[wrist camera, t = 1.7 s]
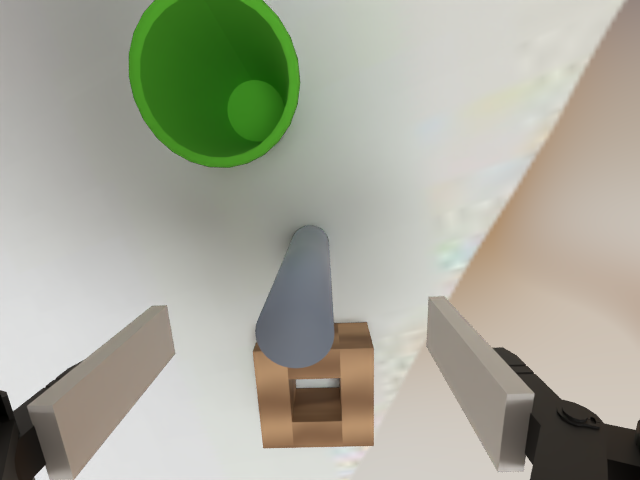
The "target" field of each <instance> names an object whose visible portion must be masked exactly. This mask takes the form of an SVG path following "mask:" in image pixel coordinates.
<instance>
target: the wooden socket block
mask: <svg viewBox="0 0 640 480" xmlns="http://www.w3.org/2000/svg"><path fill="white" fill-rule="evenodd" d="M253 358H254V367H255V376H256V385H257V395H258V404H259V413H260V422H261V431H262V440H263V448H296V447H343V446H374V347H373V344H372V340H371V336H370V332H369V329H368V325H367V322H363V323H334V341H333V344H332V347H331V349H330V351H329V352H328V354H327V355H326V356H325V357H324V358H323V359H322V360H320V361H319V362H317V363H315V364H313V365H311V366H308V367H304V368H288V367H284V366H281V365H278V364H276V363H274V362H273V361H271V360H270V359H269V358H267V357H266V356H265V355H264V353H263V352H262V351H261V349H260V347H259V345H258V343H257V342H256V345H255V347H254V350H253ZM323 378H339V381H340V387H337V388H299V389H296V381H295V379H323Z"/></svg>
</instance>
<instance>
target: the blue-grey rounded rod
mask: <svg viewBox="0 0 640 480" xmlns="http://www.w3.org/2000/svg"><path fill="white" fill-rule="evenodd" d="M255 332H256V340H257V343H258V345H259V347H260V349H261V351H262V352H263V353H264V355H265V356H266V357H267V358H269V359H270V360H271V361H273V362H274V363H276V364H278V365H281V366H284V367H288V368H304V367H308V366H311V365H313V364H315V363H317V362H319V361H320V360H322V359H323V358H324V357H325V356H326V355H327V354H328V352H329V351H330V349H331V347H332V344H333V341H334V319H333V302H332V285H331V268H330V252H329V240H328V237H327V235H326V233H325V232H324V231H323V230H322V229H320V228H319V227H316V226H304V227H302V228H300V229H299V230H297V231H296V233H295V234H294V236H293V238H292V241H291V243H290V245H289V248H288V250H287V252H286V255H285V257H284V259H283V262H282V264H281V267H280V269H279V271H278V274H277V276H276V278H275V281H274V283H273V285H272V288H271V290H270V292H269V295H268V297H267V300H266V302H265V304H264V307H263V309H262V311H261V314H260V316H259V318H258V321H257V324H256V330H255Z"/></svg>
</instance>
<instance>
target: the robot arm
mask: <svg viewBox="0 0 640 480" xmlns="http://www.w3.org/2000/svg"><path fill="white" fill-rule="evenodd" d="M427 348H428V350H429V352H430V353H431V355H432V357H433V359H434V361H435V362H436V364H437V366H438V367H439V369H440V371H441V373H442V374H443V376H444V378H445V380H446V382H447V383H448V385H449V387H450V388H451V390H452V392H453V394H454V395H455V397H456V399H457V401H458V403H459V404H460V406H461V408H462V410H463V411H464V413H465V415H466V417H467V419H468V420H469V422H470V424H471V425H472V427H473V429H474V431H475V433H476V434H477V436H478V438H479V440H480V441H481V442H482V445H483V446H484V448H485V450H486V452H487V454H488V455H489V457H490V459H491V461H492V462H493V464H494V466H495V468H496V469H497V471H498V472H514V471H515V472H516V471H517V472H519V471H524V464H525V457H526V456H527V457H528V458H529V460H530V461H531V463H532V464H533V468H532V473H531V478H530V480H640V420H639V421H638V423H637V428H636V430H633V429H628V428H623V427H618V426H613V425H608V424H604V423H603V422H602V420H601V419H600V418H599V417H598V416H597V415H596V414H594V413H593V412H591V411H590V410H588V409H587V408H585V407H583V406H580V405H578V404H576V403H573V402H569V401H565V400H561V399H560V398H559V397H558V396H557V395H556V394H555V393H554V392H553V391H552V390H551V389H550V388H549V387H548V386H547V385H546V384H545V383H544V382H543V381H542V380H541V379H540V378H539V377H538V376H537V375H536V374H534V372H533V371H532V370H531V369H530V368H529V367H528V366H526V364H525V363H524V362H523V361H521V359H520V358H519V357H518V356H517V355H515V354H513V353H511V352H510V351H508V350H506V349H504V348H492V347H491V346H490V345H489V344H488V343H487V342H486V341H485V340H484V339H483V337H482V336H481V335H480V334H479V333H478V332H477V331H476V330H475V329H474V328H473V327H472V326H471V325H470V324H469V322H468V321H467V320H466V319H465V318H464V317H463V316H462V315H461V314H460V313H459V312H458V311H457V310H456V308H455V307H454V306H453V305H452V304H451V303H450V302H449V301H448V300H447V299H446V298H445V297H444V296H440V297H429V300H428V323H427ZM174 355H175V350H174V344H173V338H172V332H171V326H170V320H169V315H168V309H167V305H164V306H151V307H150V308H149V309H147V310H146V311H145V312H144V313H142V314H141V315H140V316H139V317H137V318H136V319H135V320H134V321H132V322H131V323H130V324H129V325H127V326H126V327H125V328H124V329H122V330H121V331H120V332H119V333H117V334H116V335H115V336H114V337H112V338H111V339H110V340H109V341H107V342H106V343H105V344H104V345H102V346H101V347H100V348H99V349H97V350H96V351H95V352H94V353H92V354H91V355H90V356H89V357H87V358H86V359H85V360H83V361H81V362H79V363H78V364H76V365H74V366H72V367H70V368H68V369H67V370H66V371H64V372H63V373H62V374H60V375H59V376H58V377H57V378H56V380H53V381H52V382H50V383H49V384H48V385H46V387H45V388H43V389H41V390H40V391H39V392H37V393H36V394H35V395H34V396H32V397H31V398H30V399H29V400H27V401H26V402H25V403H23V404H22V405H21V406H20V407H18V408H17V409H16V410H14V411H12V408H11V405H10V401H9V398H8V395H7V392H5V391H0V480H35V478H34V476H35V475H36V474H37V473H38V472H39V471H40V470H41V469H42V468H43V467H44V466H46V469H47V472H48V475H49V479H50V480H74V479H75V478H76V476H77V475H78V474H79V473H80V471H81V470H82V469H83V468H84V467H85V465H86V464H87V463H88V462H89V460H90V459H91V458H92V457H93V455H94V454H95V453H96V452H97V450H98V449H99V448H100V447H101V445H102V444H103V443H104V442H105V440H106V439H107V438H108V437H109V435H110V434H111V433H112V432H113V430H114V429H115V428H116V427H117V425H118V424H119V423H120V422H121V421H122V419H123V418H124V417H125V416H126V414H127V413H128V412H129V411H130V409H131V408H132V407H133V406H134V404H135V403H136V402H137V401H138V399H139V398H140V397H141V396H142V394H143V393H144V392H145V391H146V389H147V388H148V387H149V386H150V384H151V383H152V382H153V381H154V379H155V378H156V377H157V376H158V375H159V373H160V372H161V371H162V370H163V368H164V367H165V366H166V365H167V363H168V362H169V361H170V360H171V358H172V357H173V356H174Z"/></svg>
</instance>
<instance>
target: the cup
mask: <svg viewBox="0 0 640 480" xmlns="http://www.w3.org/2000/svg"><path fill="white" fill-rule="evenodd" d="M129 79H130V84H131V88H132V93H133V97H134V100H135V102H136V104H137V107H138V109H139V111H140V113H141V115H142V118H143V120H144V121H145V123H146V124H147V125H148V127H149V128H150V129H151V131H152V132H153V133H154V135H155V136H156V137H157V139H159V140H160V141H161V142H162V143H163V144H164V145H165V146H167V147H168V148H169V149H170V150H171V151H172V152H174V153H175V154H177V155H179V156H181V157H183V158H185V159H186V160H188V161H190V162H193V163H197V164H200V165H204V166H207V167H223V168H230V167H234V166H238V165H243V164H247V163H249V162H251V161H253V160H255V159H257V158H259V157H261V156H263V155H265V154H266V153H267V152H268V151H269V150H270V149H271V148H272V147H273V146H274V145H276V144H277V143H278V142H279V141H280V139H281V138H282V136H283V135H284V133H285V132H286V130H287V129H288V127H289V126H290V124H291V121H292V118H293V115H294V113H295V110H296V107H297V104H298V96H299V88H300V76H299V66H298V58H297V55H296V52H295V49H294V46H293V43H292V40H291V37H290V35H289V34H288V32H287V30H286V29H285V27H284V25H283V24H282V22H281V20H280V19H279V17H278V16H277V15H276V14H275V13H274V12H273V11H272V9H271V8H270V7H269V6H268V5H267V4H266V3H265V2H264V1H263V0H155V1H154V2H153V3H152V4H151V5H150V6H149V7H148V8H147V9H146V11H145V12H144V13H143V15H142V17H141V19H140V21H139V23H138V25H137V27H136V29H135V31H134V33H133V38H132V42H131V46H130V51H129Z"/></svg>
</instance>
